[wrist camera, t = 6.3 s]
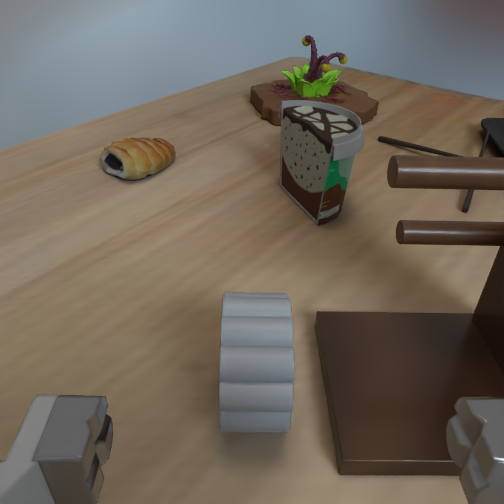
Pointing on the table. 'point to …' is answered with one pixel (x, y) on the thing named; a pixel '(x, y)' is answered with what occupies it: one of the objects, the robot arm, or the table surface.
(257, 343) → the grey knurled ring
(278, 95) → the plant
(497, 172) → the stand
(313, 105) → the halved ice cream tub
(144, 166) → the pastry
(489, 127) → the sushi plate
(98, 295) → the table surface
